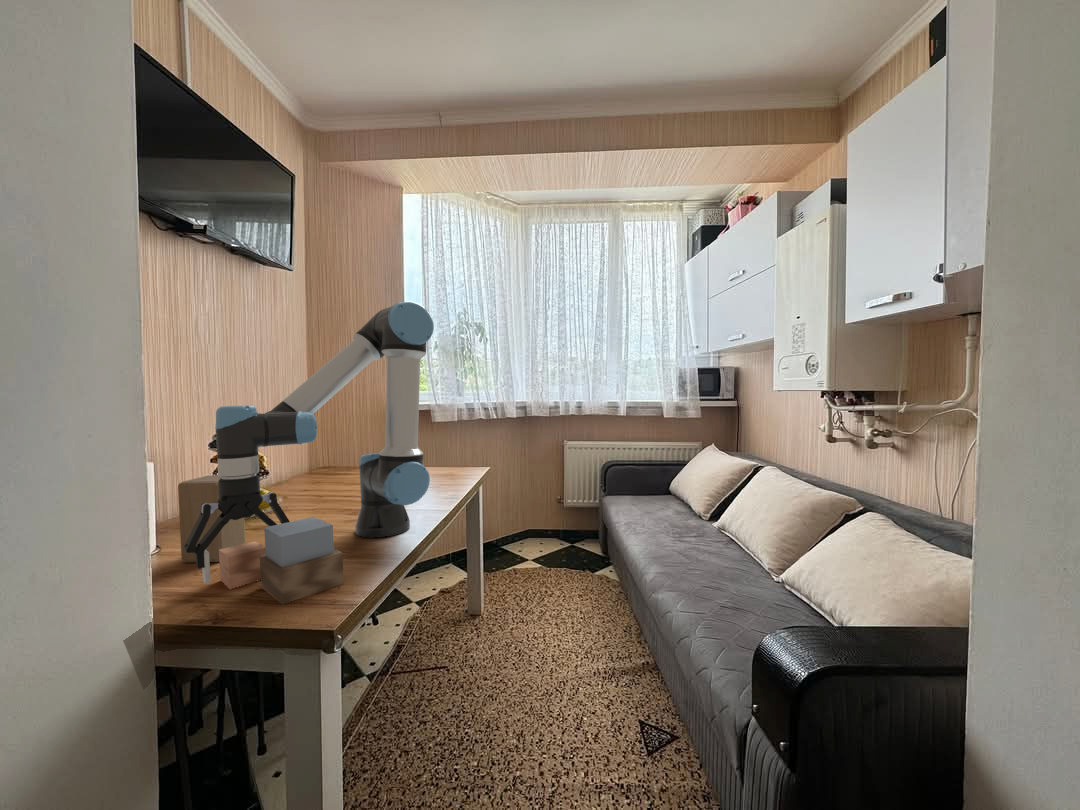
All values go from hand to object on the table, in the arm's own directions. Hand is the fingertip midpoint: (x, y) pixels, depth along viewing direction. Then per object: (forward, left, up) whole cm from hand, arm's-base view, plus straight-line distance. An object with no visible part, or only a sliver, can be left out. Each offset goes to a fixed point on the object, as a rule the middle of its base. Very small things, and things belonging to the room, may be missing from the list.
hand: (243, 572), depth 100 cm
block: (0, -23, -2) cm, 23 cm away
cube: (0, 0, -2) cm, 2 cm away
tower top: (-7, +14, +5) cm, 16 cm away
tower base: (-7, +14, -2) cm, 16 cm away
